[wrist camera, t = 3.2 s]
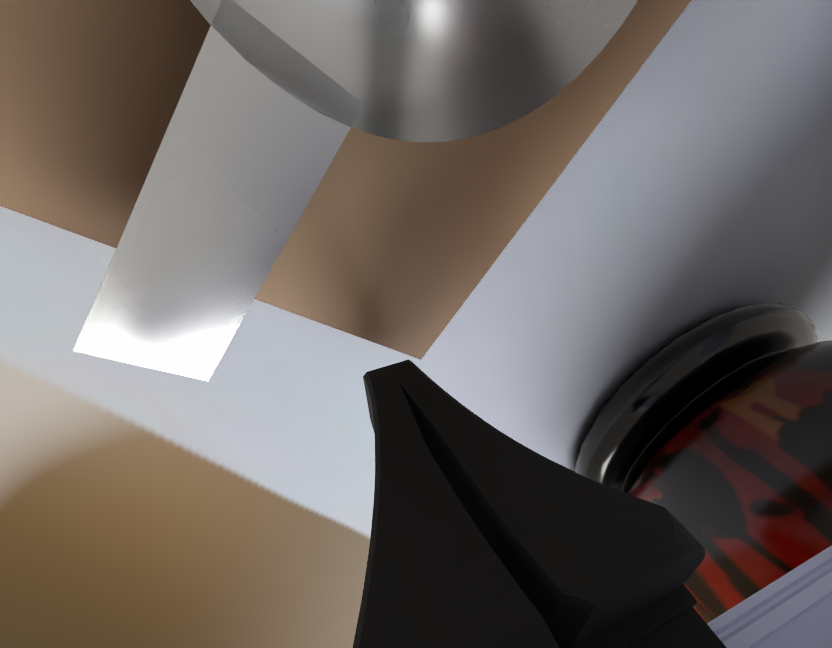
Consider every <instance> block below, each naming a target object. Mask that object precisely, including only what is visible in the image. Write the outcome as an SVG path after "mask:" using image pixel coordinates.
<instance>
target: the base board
mask: <svg viewBox="0 0 832 648" xmlns="http://www.w3.org/2000/svg"><path fill="white" fill-rule="evenodd" d="M690 1H691V0H638V1H637V3H636V4H635V6H634V7H633V9H632V10H631V12H630V13H629V15H628V16H627V18H626V19H625V21H624V22H623V24H622V25H621V27H620V28H619V29H618V30H617V32H616V33H615V34H614V36H613V37H612V38H611V39H610V41H609V42H608V43H607V44H606V46H605V47H604V48H603V50H602V51H601V52H600V53H599V54H598V55H597V56H596V58H595V59H594V60H593V61H592V62H591V63H590V64H589V65H588V66H587V67H586V68H585V69H584V70H583V71H582V72H581V73H580V74H579V75H578V76H577V78H575V79H574V80H573V81H572V82H571V83H570V84H568V85H567V86H566V87H565V88H564V89H562V90H561V91H560V92H559V93H558V94H557V95H555V96H554V97H553V98H552V99H550V100H549V101H547V102H546V103H544V104H543V105H541V106H540V107H538V108H537V109H535V110H534V111H532V112H531V113H529V114H528V115H526V116H524V117H522V118H520V119H518V120H516V121H514V122H512V123H510V124H508V125H506V126H504V127H502V128H499V129H496V130H493V131H490V132H487V133H484V134H481V135H478V136H475V137H471V138H465V139H459V140H453V141H447V142H411V141H404V140H397V139H389V138H384V137H380V136H377V135H374V134H370V133H367V132H364V131H360V130H357V129H353V128H350V130H349V132H348V134H347V135H346V137H345V139H344V141H343V142H342V144H341V146H340V148H339V150H338V151H337V153H336V155H335V157H334V158H333V160H332V162H331V164H330V166H329V167H328V169H327V171H326V173H325V174H324V176H323V178H322V180H321V181H320V183H319V185H318V187H317V189H316V190H315V192H314V194H313V196H312V197H311V199H310V201H309V203H308V205H307V206H306V208H305V210H304V212H303V213H302V215H301V217H300V219H299V220H298V222H297V224H296V226H295V228H294V229H293V231H292V233H291V235H290V236H289V238H288V240H287V242H286V244H285V245H284V247H283V249H282V251H281V252H280V254H279V256H278V258H277V260H276V261H275V263H274V265H273V267H272V268H271V270H270V272H269V274H268V275H267V277H266V279H265V281H264V283H263V284H262V286H261V288H260V290H259V291H258V293H257V295H256V297H255V299H257V300H259V301H262V302H265V303H268V304H270V305H273V306H276V307H279V308H281V309H284V310H287V311H290V312H292V313H295V314H298V315H300V316H303V317H306V318H309V319H311V320H314V321H317V322H320V323H322V324H325V325H328V326H331V327H333V328H336V329H339V330H342V331H344V332H347V333H350V334H352V335H355V336H358V337H361V338H363V339H366V340H369V341H372V342H374V343H377V344H380V345H383V346H385V347H388V348H391V349H394V350H396V351H399V352H402V353H404V354H407V355H410V356H413V357H415V358H418V359H422V357H423V356H424V355H425V353H426V352H427V351H428V349H429V348H430V347H431V345H432V344H433V343H434V341H435V340H436V339H437V338H438V336H439V335H440V334H441V332H442V331H443V330H444V328H445V327H446V326H447V324H448V323H449V322H450V320H451V319H452V318H453V316H454V315H455V314H456V312H457V311H458V310H459V308H460V307H461V306H462V304H463V303H464V302H465V300H466V299H467V298H468V296H469V295H470V294H471V292H472V291H473V290H474V288H475V287H476V286H477V284H478V283H479V282H480V280H481V279H482V278H483V276H484V275H485V274H486V272H487V271H488V270H489V268H490V267H491V266H492V264H493V263H494V262H495V260H496V259H497V258H498V256H499V255H500V254H501V252H502V251H503V250H504V248H505V247H506V246H507V244H508V243H509V242H510V240H511V239H512V238H513V236H514V235H515V234H516V232H517V231H518V230H519V228H520V227H521V226H522V224H523V223H524V222H525V220H526V219H527V218H528V216H529V215H530V214H531V212H532V211H533V210H534V208H535V207H536V206H537V204H538V203H539V202H540V200H541V199H542V198H543V197H544V195H545V194H546V193H547V191H548V190H549V189H550V187H551V186H552V185H553V183H554V182H555V181H556V179H557V178H558V177H559V175H560V174H561V173H562V171H563V170H564V169H565V167H566V166H567V165H568V163H569V162H570V161H571V159H572V158H573V157H574V155H575V154H576V153H577V151H578V150H579V149H580V147H581V146H582V145H583V143H584V142H585V141H586V139H587V138H588V137H589V135H590V134H591V133H592V131H593V130H594V129H595V127H596V126H597V125H598V123H599V122H600V121H601V119H602V118H603V117H604V115H605V114H606V113H607V111H608V110H609V109H610V107H611V106H612V105H613V103H614V102H615V101H616V99H617V98H618V97H619V95H620V94H621V93H622V91H623V90H624V89H625V87H626V86H627V85H628V83H629V82H630V81H631V79H632V78H633V77H634V75H635V74H636V73H637V71H638V70H639V69H640V67H641V66H642V65H643V63H644V62H645V61H646V59H647V58H648V57H649V56H650V54H651V53H652V52H653V50H654V49H655V48H656V46H657V45H658V44H659V42H660V41H661V40H662V38H663V37H664V36H665V34H666V33H667V32H668V30H669V29H670V28H671V26H672V25H673V24H674V22H675V21H676V20H677V18H678V17H679V16H680V14H681V13H682V12H683V10H684V9H685V8H686V6H687V5H688V4H689V2H690ZM210 26H211V25H210V24H209V23H208V22H207V20H206V19H205V18H204V17H203V16H202V14H201V13H200V12H199V11H198V9H197V8H196V7H195V6H194V5H193V3H192V2H191V1H190V0H0V206H2V207H5V208H8V209H10V210H13V211H16V212H19V213H21V214H24V215H27V216H29V217H32V218H35V219H38V220H40V221H43V222H46V223H49V224H51V225H54V226H57V227H60V228H62V229H65V230H68V231H71V232H73V233H76V234H79V235H81V236H84V237H87V238H90V239H92V240H95V241H98V242H101V243H103V244H106V245H109V246H112V247H114V248H117V246H118V244H119V242H120V239H121V237H122V234H123V232H124V230H125V227H126V225H127V223H128V220H129V218H130V216H131V213H132V211H133V208H134V206H135V204H136V201H137V199H138V197H139V194H140V192H141V190H142V187H143V185H144V182H145V180H146V178H147V175H148V173H149V171H150V168H151V166H152V164H153V161H154V159H155V156H156V154H157V152H158V149H159V147H160V145H161V142H162V140H163V138H164V135H165V133H166V130H167V128H168V126H169V123H170V121H171V119H172V116H173V114H174V112H175V109H176V107H177V104H178V102H179V100H180V97H181V95H182V93H183V90H184V88H185V85H186V83H187V81H188V78H189V76H190V74H191V71H192V69H193V67H194V64H195V62H196V59H197V57H198V55H199V52H200V50H201V48H202V45H203V43H204V41H205V38H206V36H207V33H208V31H209V29H210Z"/></svg>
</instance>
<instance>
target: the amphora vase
mask: <svg viewBox="0 0 832 648" xmlns="http://www.w3.org/2000/svg"><path fill="white" fill-rule="evenodd" d="M575 472H576V473H578V474H580V475H582V476H585V477H587V478H589V479H592V480H594V481H596V482H599V483H601V484H603V485H606V486H608V487H610V488H613V489H616V490H618V491H621V492H624V493H626V494H629V495H632V496H635V497H638V498H640V499H643V500H646V501H649V502H651V503H654V504H657V505H660V506H663V507H665V508H666V509H667V510H668V511H669V512H670V513H671V514H672V515H673V516H674V517H675V518H676V519H678V520H679V521H680V522H681V523H682V524H683V525H684V526H685V528H686V529H687V530H688V531H689V532H690V533H691V534H692V535H693V536H694V537H695V539H696V540H697V541H698V542H699V543H700V544H701V545H702V546H703V547H704V548H705V557H704V560H703V561H702V562H701V564H700V565H699V566H698V568H697V569H696V570H695V571H694V572H693V573H692V575H691V576H690V577H689V578H688V579H687V580H686V582H685V583H684V585H685V587H686V588H687V589H688V590H689V591H690V593H691V594H692V595H693V596H694V597H695V599H696V602H697V603H696V604H695V605H694V606H693V608H694V609H695V610H696V611H697V612H698V614H699V615H700V616H701V617H702V618H703V620H704V621H705V622H706V623H709V622H710V621H712V620H713V619H715V618H717V617H718V616H720V615H721V614H723V613H725V612H726V611H728V610H729V609H731V608H733V607H734V606H736V605H737V604H739V603H740V602H742V601H744V600H745V599H747V598H748V597H750V596H752V595H753V594H755V593H756V592H758V591H760V590H761V589H763V588H764V587H766V586H768V585H769V584H771V583H772V582H774V581H776V580H777V579H779V578H780V577H782V576H784V575H785V574H787V573H788V572H790V571H792V570H793V569H795V568H796V567H798V566H800V565H801V564H803V563H804V562H806V561H807V560H809V559H811V558H812V557H814V556H815V555H817V554H819V553H820V552H822V551H823V550H825V549H827V548H828V547H830V546H831V545H832V340H830V341H822V342H818V343H817V336H816V331H815V327H814V324H813V323H812V321H811V320H810V319H809V317H808V316H807V315H806V314H804V313H802V312H800V311H799V310H797V309H795V308H793V307H790V306H787V305H784V304H781V303H778V304H758V305H750V306H744V307H741V308H738V309H735V310H732V311H729V312H727V313H724V314H721V315H718V316H716V317H714V318H712V319H710V320H708V321H706V322H705V323H703V324H701V325H699V326H698V327H696V328H694V329H692V330H691V331H689V332H687V333H685V334H684V335H682V336H680V337H678V338H677V339H675V340H674V341H673V342H671V343H670V344H669V345H668V346H666V347H665V348H664V349H662V350H661V351H660V352H658V353H657V354H656V355H654V356H653V357H652V358H650V359H649V360H648V361H647V362H646V363H645V364H644V365H643V366H641V367H640V368H639V369H638V370H637V371H636V372H635V373H634V374H633V375H632V376H631V377H630V378H629V379H628V380H627V381H626V382H625V383H624V384H623V385H622V386H621V387H620V388H619V389H618V391H617V392H616V393H615V394H614V396H613V397H612V398H611V399H610V401H609V402H608V403H607V404H606V406H605V407H604V408H603V409H602V411H601V412H600V413H599V415H598V417H597V418H596V420H595V422H594V424H593V425H592V427H591V429H590V430H589V432H588V434H587V436H586V437H585V439H584V441H583V443H582V446H581V449H580V452H579V455H578V458H577V461H576V465H575Z"/></svg>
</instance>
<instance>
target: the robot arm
mask: <svg viewBox="0 0 832 648" xmlns="http://www.w3.org/2000/svg"><path fill="white" fill-rule="evenodd" d="M363 378H364V384H365V390H366V396H367V402H368V407H369V413H370V419H371V423H372V426H373V429H374V433H375V492H374V507H373V519H372V530H371V539H370V547H369V555H368V562H367V569H366V576H365V582H364V589H363V595H362V602H361V607H360V612H359V618H358V623H357V628H356V634H355V639H354V644H353V648H832V545H831V546H830V547H828V548H827V549H825V550H823V551H822V552H820V553H819V554H817V555H815V556H814V557H812V558H811V559H809V560H807V561H806V562H804V563H803V564H801V565H800V566H798V567H796V568H795V569H793V570H792V571H790V572H788V573H787V574H785V575H784V576H782V577H780V578H779V579H777V580H776V581H774V582H772V583H771V584H769V585H768V586H766V587H764V588H763V589H761V590H760V591H758V592H756V593H755V594H753V595H752V596H750V597H748V598H747V599H745V600H744V601H742V602H740V603H739V604H737V605H736V606H734V607H733V608H731V609H729V610H728V611H726V612H725V613H723V614H721V615H720V616H718V617H717V618H715V619H713V620H712V621H710V622H709V623H706V622H705V621H704V620H703V618H702V617H701V616H700V615H699V614H698V612H697V611H696V610H695V609H694V608H693V606H694V605H695V604H696V603H697V602H696V599H695V597H694V596H693V595H692V594H691V593H690V591H689V590H688V589H687V588H686V587H685V585H684V583H685V582H686V580H687V579H688V578H689V577H690V576H691V575H692V573H693V572H694V571H695V570H696V569H697V568H698V566H699V565H700V564H701V562H702V561H703V560H704V557H705V548H704V547H703V546H702V545H701V544H700V543H699V542H698V541H697V540H696V539H695V537H694V536H693V535H692V534H691V533H690V532H689V531H688V530H687V529H686V528H685V526H684V525H683V524H682V523H681V522H680V521H679V520H678V519H676V518H675V517H674V516H673V515H672V514H671V513H670V512H669V511H668V510H667V509H666V508H665V507H663V506H660V505H657V504H654V503H651V502H649V501H646V500H643V499H640V498H638V497H635V496H632V495H629V494H626V493H624V492H621V491H618V490H616V489H613V488H610V487H608V486H606V485H603V484H601V483H599V482H596V481H594V480H592V479H589V478H587V477H585V476H582V475H580V474H578V473H576V472H574V471H572V470H570V469H568V468H566V467H564V466H562V465H560V464H558V463H555V462H553V461H551V460H549V459H547V458H545V457H543V456H541V455H540V454H538V453H536V452H534V451H532V450H531V449H529V448H527V447H525V446H523V445H522V444H520V443H518V442H517V441H515V440H513V439H512V438H510V437H508V436H507V435H505V434H503V433H502V432H500V431H499V430H497V429H496V428H494V427H493V426H491V425H490V424H488V423H487V422H485V421H484V420H482V419H481V418H480V417H478V416H477V415H475V414H474V413H473V412H471V411H470V410H469V409H467V408H466V407H465V406H463V405H462V404H461V403H459V402H458V401H457V400H456V399H454V398H453V397H452V396H450V395H449V394H448V393H447V392H445V391H444V390H443V389H442V388H441V387H439V386H438V385H437V384H436V383H435V382H434V381H432V380H431V379H430V378H429V377H428V376H427V375H426V374H425V373H423V372H422V371H421V370H420V369H419V368H418V367H417V366H416V365H415V364H414V363H413V362H411V361H410V360H406V361H403V362H399V363H396V364H392V365H389V366H386V367H382V368H379V369H376V370H372V371H369V372H366V374H365V375H364V376H363Z"/></svg>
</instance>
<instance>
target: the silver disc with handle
mask: <svg viewBox="0 0 832 648" xmlns="http://www.w3.org/2000/svg"><path fill="white" fill-rule="evenodd" d="M190 1H191V2H192V3H193V5H194V6H195V7H196V8H197V9H198V11H199V12H200V13H201V14H202V16H203V17H204V18H205V19H206V20H207V22H208V23H209V24H210V25H211V26H210V29H209V31H208V33H207V36H206V38H205V41H204V43H203V45H202V48H201V50H200V52H199V55H198V57H197V59H196V62H195V64H194V67H193V69H192V71H191V74H190V76H189V78H188V81H187V83H186V85H185V88H184V90H183V93H182V95H181V97H180V100H179V102H178V104H177V107H176V109H175V112H174V114H173V116H172V119H171V121H170V123H169V126H168V128H167V130H166V133H165V135H164V138H163V140H162V142H161V145H160V147H159V149H158V152H157V154H156V156H155V159H154V161H153V164H152V166H151V168H150V171H149V173H148V175H147V178H146V180H145V182H144V185H143V187H142V190H141V192H140V194H139V197H138V199H137V201H136V204H135V206H134V208H133V211H132V213H131V216H130V218H129V220H128V223H127V225H126V227H125V230H124V232H123V234H122V237H121V239H120V242H119V244H118V246H117V249H116V251H115V253H114V256H113V258H112V260H111V263H110V265H109V268H108V270H107V272H106V275H105V277H104V279H103V282H102V284H101V287H100V289H99V291H98V294H97V296H96V298H95V301H94V303H93V305H92V308H91V310H90V313H89V315H88V317H87V320H86V322H85V324H84V327H83V329H82V331H81V334H80V336H79V339H78V341H77V343H76V346H75V348H74V350H73V351H76V352H80V353H85V354H89V355H94V356H98V357H102V358H107V359H111V360H116V361H120V362H125V363H129V364H134V365H138V366H143V367H147V368H151V369H156V370H160V371H165V372H169V373H174V374H178V375H183V376H187V377H191V378H196V379H200V380H205V381H208V380H209V378H210V377H211V375H212V373H213V371H214V369H215V368H216V366H217V364H218V362H219V361H220V359H221V357H222V355H223V354H224V352H225V350H226V348H227V346H228V345H229V343H230V341H231V339H232V338H233V336H234V334H235V332H236V330H237V329H238V327H239V325H240V323H241V322H242V320H243V318H244V316H245V315H246V313H247V311H248V309H249V307H250V306H251V304H252V302H253V300H254V299H255V297H256V295H257V293H258V291H259V290H260V288H261V286H262V284H263V283H264V281H265V279H266V277H267V275H268V274H269V272H270V270H271V268H272V267H273V265H274V263H275V261H276V260H277V258H278V256H279V254H280V252H281V251H282V249H283V247H284V245H285V244H286V242H287V240H288V238H289V236H290V235H291V233H292V231H293V229H294V228H295V226H296V224H297V222H298V220H299V219H300V217H301V215H302V213H303V212H304V210H305V208H306V206H307V205H308V203H309V201H310V199H311V197H312V196H313V194H314V192H315V190H316V189H317V187H318V185H319V183H320V181H321V180H322V178H323V176H324V174H325V173H326V171H327V169H328V167H329V166H330V164H331V162H332V160H333V158H334V157H335V155H336V153H337V151H338V150H339V148H340V146H341V144H342V142H343V141H344V139H345V137H346V135H347V134H348V132H349V130H350V128H353V129H357V130H360V131H364V132H367V133H370V134H374V135H377V136H380V137H384V138H389V139H397V140H404V141H411V142H447V141H453V140H459V139H465V138H471V137H475V136H478V135H481V134H484V133H487V132H490V131H493V130H496V129H499V128H502V127H504V126H506V125H508V124H510V123H512V122H514V121H516V120H518V119H520V118H522V117H524V116H526V115H528V114H529V113H531V112H532V111H534V110H535V109H537V108H538V107H540V106H541V105H543V104H544V103H546V102H547V101H549V100H550V99H552V98H553V97H554V96H555V95H557V94H558V93H559V92H560V91H561V90H562V89H564V88H565V87H566V86H567V85H568V84H570V83H571V82H572V81H573V80H574V79H575V78H577V76H578V75H579V74H580V73H581V72H582V71H583V70H584V69H585V68H586V67H587V66H588V65H589V64H590V63H591V62H592V61H593V60H594V59H595V58H596V56H597V55H598V54H599V53H600V52H601V51H602V50H603V48H604V47H605V46H606V44H607V43H608V42H609V41H610V39H611V38H612V37H613V36H614V34H615V33H616V32H617V30H618V29H619V28H620V27H621V25H622V24H623V22H624V21H625V19H626V18H627V16H628V15H629V13H630V12H631V10H632V9H633V7H634V6H635V4H636V3H637V1H638V0H190Z"/></svg>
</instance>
